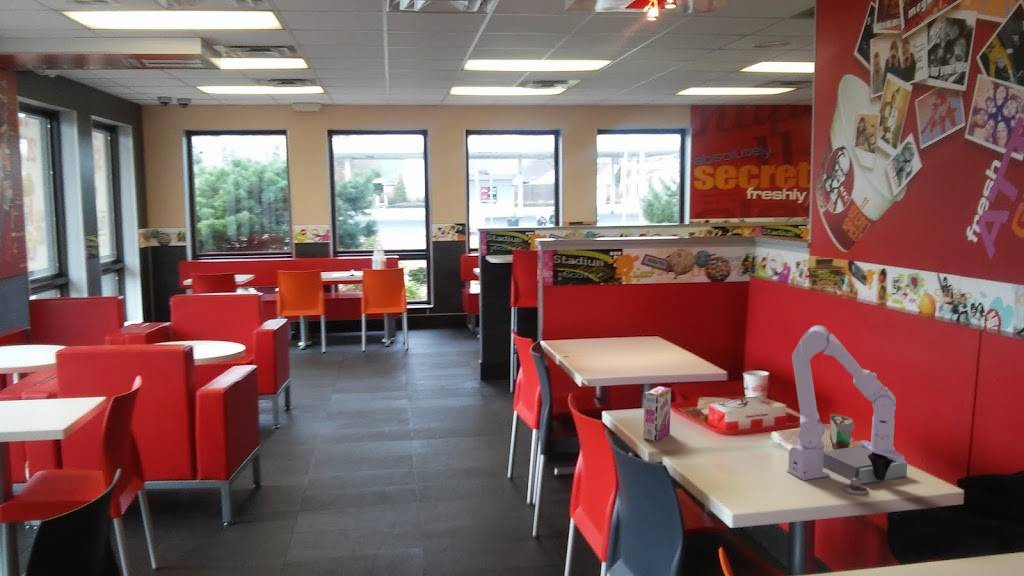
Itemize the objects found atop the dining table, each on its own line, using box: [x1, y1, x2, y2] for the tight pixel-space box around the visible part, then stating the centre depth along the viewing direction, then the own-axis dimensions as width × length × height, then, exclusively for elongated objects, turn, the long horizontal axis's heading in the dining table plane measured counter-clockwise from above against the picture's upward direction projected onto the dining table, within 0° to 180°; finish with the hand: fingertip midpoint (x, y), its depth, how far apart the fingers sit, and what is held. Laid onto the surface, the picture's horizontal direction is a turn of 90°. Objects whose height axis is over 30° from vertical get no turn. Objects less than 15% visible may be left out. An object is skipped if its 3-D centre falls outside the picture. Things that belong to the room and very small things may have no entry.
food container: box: [829, 413, 855, 450], centre depth 257 cm, size 12×6×10 cm, turn 168°
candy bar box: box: [642, 386, 672, 442], centre depth 271 cm, size 11×5×16 cm, turn 144°
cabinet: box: [823, 445, 896, 481], centre depth 240 cm, size 14×17×4 cm
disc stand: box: [842, 477, 869, 495], centre depth 224 cm, size 6×6×4 cm
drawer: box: [858, 460, 908, 485], centre depth 237 cm, size 13×17×4 cm
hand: (879, 479), depth 229 cm, fingers closed
